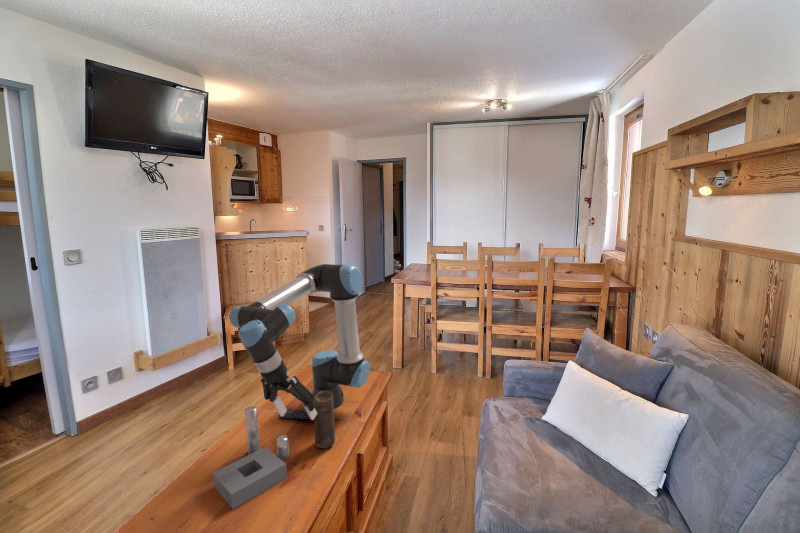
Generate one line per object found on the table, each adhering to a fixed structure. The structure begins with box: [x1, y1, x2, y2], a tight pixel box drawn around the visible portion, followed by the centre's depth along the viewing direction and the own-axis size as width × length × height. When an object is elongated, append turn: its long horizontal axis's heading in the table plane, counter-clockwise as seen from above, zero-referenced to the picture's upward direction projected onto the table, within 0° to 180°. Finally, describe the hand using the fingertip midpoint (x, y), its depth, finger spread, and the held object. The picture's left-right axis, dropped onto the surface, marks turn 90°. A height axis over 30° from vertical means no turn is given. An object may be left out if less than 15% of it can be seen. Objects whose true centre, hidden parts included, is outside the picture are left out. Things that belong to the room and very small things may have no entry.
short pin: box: [275, 434, 290, 461], centre depth 136 cm, size 4×4×7 cm
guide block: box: [212, 446, 288, 510], centre depth 123 cm, size 18×14×5 cm
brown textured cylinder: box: [313, 391, 336, 449], centre depth 141 cm, size 8×7×20 cm
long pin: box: [244, 406, 261, 455], centre depth 138 cm, size 4×4×17 cm
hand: (298, 415), depth 127 cm, fingers open, 13 cm apart
